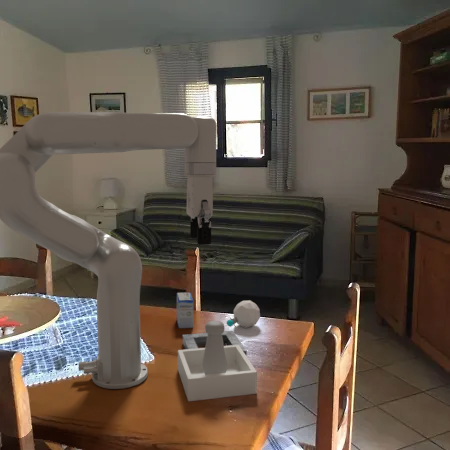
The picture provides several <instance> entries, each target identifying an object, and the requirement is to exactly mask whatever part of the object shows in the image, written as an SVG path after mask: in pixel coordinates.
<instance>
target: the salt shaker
mask: <svg viewBox="0 0 450 450" xmlns="http://www.w3.org/2000/svg"><path fill="white" fill-rule="evenodd" d="M204 327H205V329H204V330H205V333H207V334H208V335H207V341H206V345H205V347H204V348H205V352H204V358H203V363H202V369H203V372H204V374H205V375H211V374H221V373H226V371H227V368H228V367H227V362H226V357H225V351H224V346H225V345H224V344H223V339H222V334H223V332H224V331H225V324H224V323H223V322H222V321H220V320H210V321H207V323H206V324H205V326H204Z"/></svg>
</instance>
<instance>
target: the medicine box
mask: <svg viewBox="0 0 450 450" xmlns="http://www.w3.org/2000/svg"><path fill="white" fill-rule="evenodd" d="M194 305H195V304H194V299H193V295H192V293H191V292H177V293H176V322H177V326H178V328H179V329H192V328H194Z"/></svg>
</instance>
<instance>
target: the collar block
mask: <svg viewBox="0 0 450 450" xmlns="http://www.w3.org/2000/svg"><path fill="white" fill-rule="evenodd" d="M207 335H208V334H207V333H206V332H202V333H191V334H190V333H189V334H182V345H183V348H184V350H186V349H197V348H199V347H200V346H206V341H207ZM222 339H223V345H224V344H225V345H226V346H230V345H239V346H240V347H241V349H242V350H243V352H244V353H245V355H246V356H247V355H248V354H247V351H248V350H246V348H245V347H244V345H243V344H242V342H241V341H240V340H239V337H237V335H236V333H235V332H234V331H233V330H227V331H226V330H224V332H223V334H222ZM247 357H248V356H247Z"/></svg>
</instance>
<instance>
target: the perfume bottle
mask: <svg viewBox="0 0 450 450" xmlns="http://www.w3.org/2000/svg"><path fill="white" fill-rule="evenodd" d="M260 319H261V313H260V308H259V306H258V305H257V304H256V303H255V302H253V301H252V300H250V299H249V300H242V301H240V302H238V303H237V304H236V306H235V307H234V309H233V318H231V317H229V319H227V320H226V324H227V325H226V326H228V327H233V326H234V328H236V329H237V325H238V326H241V327H242V328H252V327H254V326H255V325H256V324H257V323H258V321H259V320H260ZM236 323H237V325H235V324H236Z"/></svg>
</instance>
